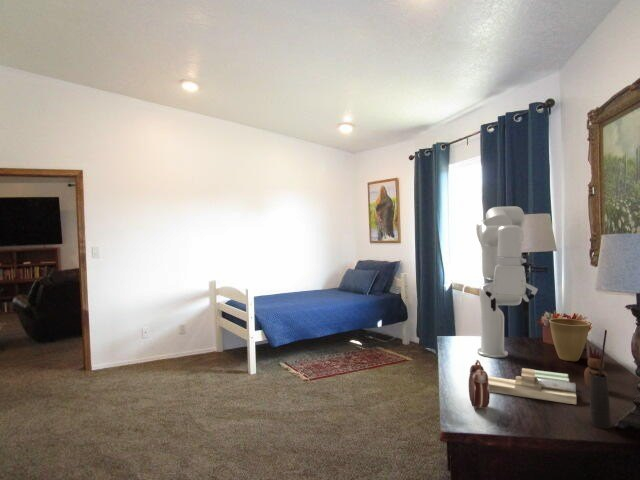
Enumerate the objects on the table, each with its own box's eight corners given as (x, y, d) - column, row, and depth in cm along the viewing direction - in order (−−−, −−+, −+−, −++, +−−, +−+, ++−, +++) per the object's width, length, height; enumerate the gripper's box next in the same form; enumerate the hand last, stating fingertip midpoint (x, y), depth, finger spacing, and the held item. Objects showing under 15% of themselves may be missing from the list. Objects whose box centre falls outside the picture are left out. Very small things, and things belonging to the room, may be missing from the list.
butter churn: (569, 418, 129) (570, 324, 128) (596, 415, 131) (597, 322, 130) (595, 432, 120) (596, 332, 119) (623, 428, 122) (624, 330, 122)
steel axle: (521, 386, 149) (521, 377, 149) (521, 383, 151) (521, 375, 151) (575, 393, 141) (575, 384, 141) (575, 391, 144) (575, 381, 144)
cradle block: (533, 382, 159) (533, 369, 159) (567, 386, 154) (567, 374, 154) (533, 388, 153) (533, 376, 153) (569, 393, 148) (569, 380, 148)
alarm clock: (490, 416, 132) (490, 366, 131) (473, 414, 132) (473, 366, 132) (483, 401, 142) (483, 356, 142) (467, 400, 143) (467, 355, 143)
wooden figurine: (580, 387, 153) (581, 345, 153) (591, 385, 156) (592, 343, 155) (599, 394, 147) (600, 350, 147) (610, 391, 149) (611, 348, 149)
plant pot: (595, 364, 178) (596, 326, 177) (556, 363, 180) (557, 325, 180) (580, 354, 192) (580, 318, 192) (544, 353, 195) (544, 317, 194)
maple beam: (485, 382, 159) (485, 363, 159) (574, 395, 147) (574, 374, 146) (483, 390, 152) (483, 370, 151) (576, 404, 139) (576, 382, 139)
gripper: (538, 261, 148) (537, 312, 148) (484, 260, 156) (484, 308, 157) (537, 263, 141) (537, 315, 142) (481, 262, 150) (481, 311, 150)
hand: (509, 311), depth 149 cm, fingers open, 9 cm apart
